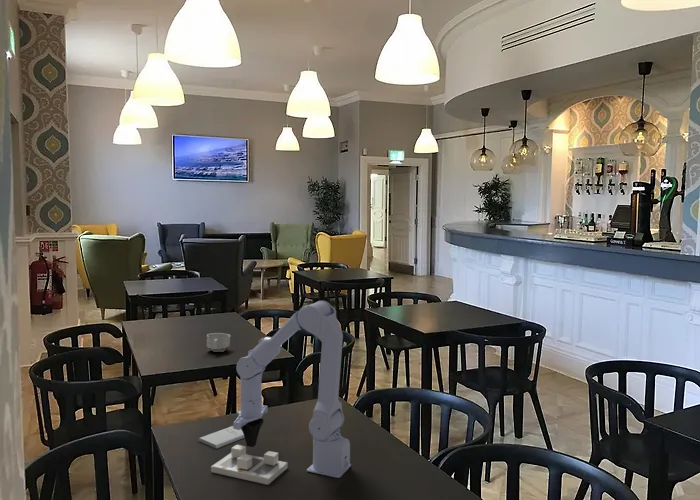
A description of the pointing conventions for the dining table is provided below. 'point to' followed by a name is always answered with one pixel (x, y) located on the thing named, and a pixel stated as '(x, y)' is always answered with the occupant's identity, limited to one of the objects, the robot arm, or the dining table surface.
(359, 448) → the dining table surface
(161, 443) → the dining table surface
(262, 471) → the panel
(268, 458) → the switch tab near
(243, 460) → the switch tab mid
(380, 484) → the dining table surface
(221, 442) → the external hard drive
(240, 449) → the switch tab far
